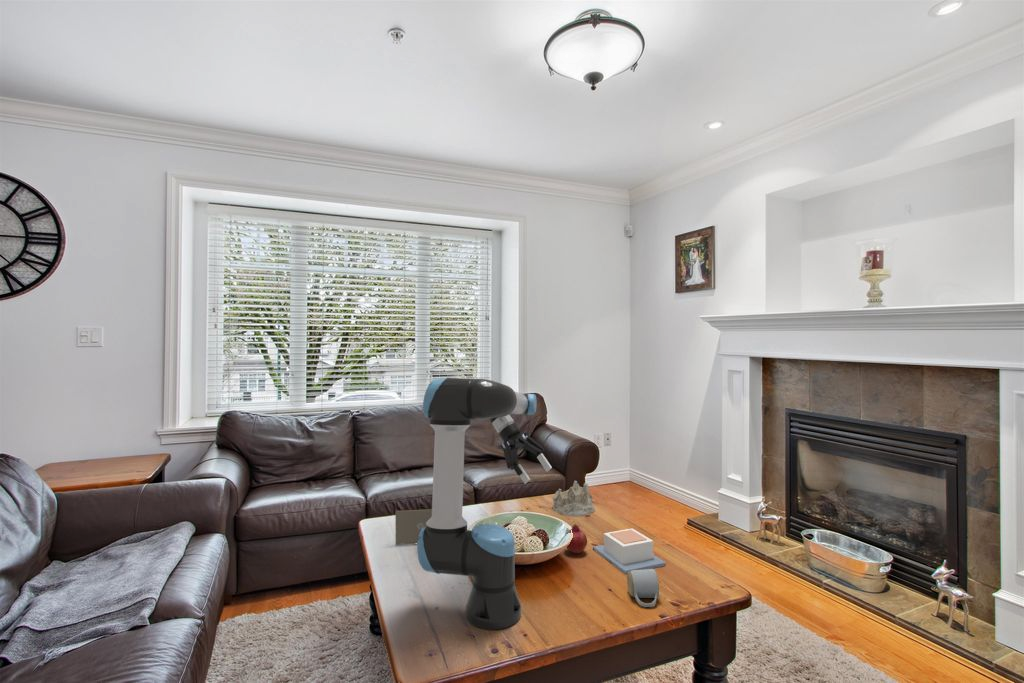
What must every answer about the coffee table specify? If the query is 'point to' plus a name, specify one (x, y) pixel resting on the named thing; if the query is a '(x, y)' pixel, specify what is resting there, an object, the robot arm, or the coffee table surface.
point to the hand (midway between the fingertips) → (538, 475)
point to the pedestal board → (632, 565)
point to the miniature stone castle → (574, 501)
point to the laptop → (410, 525)
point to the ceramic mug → (643, 585)
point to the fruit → (577, 540)
